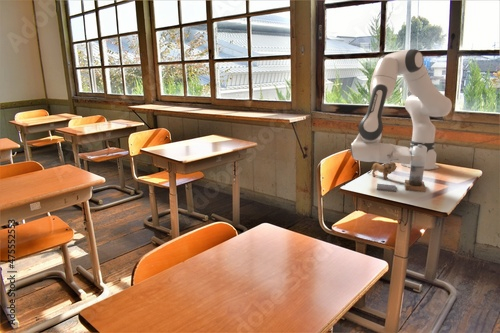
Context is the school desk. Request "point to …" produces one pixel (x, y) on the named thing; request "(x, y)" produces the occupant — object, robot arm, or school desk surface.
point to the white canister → (419, 151)
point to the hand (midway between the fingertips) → (421, 156)
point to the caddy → (414, 187)
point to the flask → (416, 175)
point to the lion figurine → (383, 169)
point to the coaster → (386, 187)
